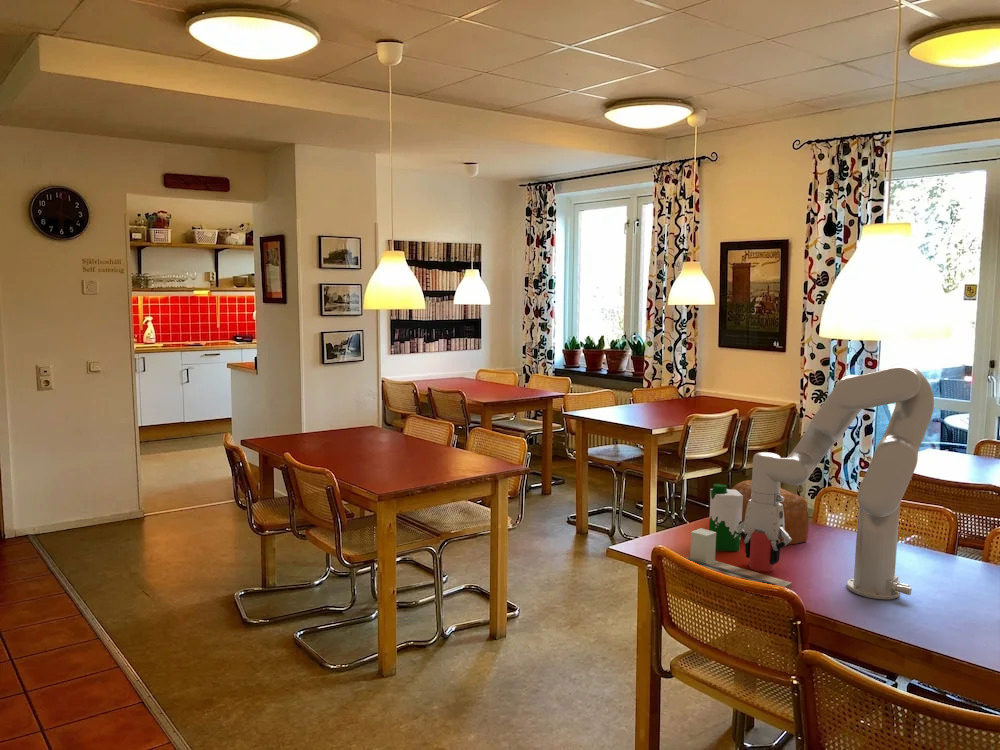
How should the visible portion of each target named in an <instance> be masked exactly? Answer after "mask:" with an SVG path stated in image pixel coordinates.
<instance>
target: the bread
mask: <svg viewBox="0 0 1000 750" xmlns="http://www.w3.org/2000/svg"><path fill="white" fill-rule="evenodd" d="M751 488H752V479H747V480H743V481H740V482H738V483H736V484H735V485H734V486H733V487H732V488H731V489H733V490H737V491H738V492H739V493H740V494H742V495H743V504H742V522H744V521H745V514H746V509H747V505H748V501H749V500H750V499H751V490H752V489H751ZM780 493H781V496H782V497H784V502H779V503H781V504H782V505H783V510H784V523H785V531H786V532H787V534H788V535H789V536H790V537H791V539H792V540H791V541H790V542H789V543H788V544H787V545H794V544H795V545H796V544H802V543H804V542H807V541H808V538H809V511H808V504H809V503H808V501H807V500H806V499H805V498H803V497H802V496H800V495H798V494H796V493H792V492H791V491H789V490H786V489H784V488H782V487H780ZM779 540H780V543H781V542H782V541H783V540H784V538H779Z"/></svg>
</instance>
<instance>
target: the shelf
mask: <svg viewBox="0 0 1000 750" xmlns="http://www.w3.org/2000/svg"><path fill="white" fill-rule="evenodd" d="M683 557H684V558H686V559H688V560H690V561H693V562H695V563H697V564H699V565H702V566H704V567H706V568H709V569H712V570H714V571H717V572H721V573H723V574H726V575H729V576H734V577H738V578H743V579H746V580H751V581H757V582H762V583H767V584H772V585H779V586H783V587H786V588H787V589H789V588H790V587H792V584H793V583H792V581H787V580H784V579H781V578H777V577H774V576H771V575H767V574H764V573H761V572H760V573H759V572H758V571H753V570H749V569H746V568H742V567H738V566H736V565H733V564H728V563H726V562H721V561H718V560H715V563H714V564H712V565H711V564H707V563H704V562H700V561H697V560H694V559H690V557H686V556H683Z"/></svg>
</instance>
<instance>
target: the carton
mask: <svg viewBox="0 0 1000 750" xmlns="http://www.w3.org/2000/svg"><path fill="white" fill-rule="evenodd" d="M715 550H716V532H714V531H710V530H709V529H705V528H703V527H702V528H701V527H700V528H697V529H695V530H692V531H691V532H690V552H689V558H690V559H694V560H697V561H700V562H704V563H707V564H711V565H712V564H714V563H715V561H716V551H715Z"/></svg>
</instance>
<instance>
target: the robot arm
mask: <svg viewBox="0 0 1000 750" xmlns="http://www.w3.org/2000/svg"><path fill="white" fill-rule="evenodd" d="M934 398H935V397H934V392H933V389H932V386H931V384H930V383H929V380H928V379H927V378H926V376H925V375H924V374H923V373H922V372H921V371H920V370H919V369H918V368H917V367H915V366H914V365H911V364H909V363H905V362H904V363H902V362H901V363H896V364H894V365H892V366H890V367H889V368H887V369H883V370H878V371H874V372H869V373H863V374H860V375H859V374H858V375H857V374H847V375H845V376H843V377H841V379H839V380H838V381H837V382H836V384H835V385H834V387H833V389H832V390H831V392H830V393H829V395H828V396H827V398H826V399H825V400H824V402H823V403H822V404H821V406H820V407H819V409H818V410H817V411H816V413H815V414H814V415H813V417H812V418H811V420H810V421H809V425H808V427H807V429H806V431H805V433H804V434H803V436H801V439H800V440H799V442H798V443H797V444H796V445H795V447H794V448H793V450H791V453H790V454H789V455H788V456H787V457H781V455H779V454H778V453H776V452H775V453H774V452H767V451H763V452H762V451H761V452H756V453H755V454H753V458H752V472H751V474H752V475H751V480H752V488H751V489H752V490H751V499H750V500H749V501H748V505H747V509H746V514H745V521H744V522H742V523H741V524H739V525H738V526H736V529H737V530H738V532H739V533H740V535H741V539H742V540H743V543H744V544H745V547H744V548H745V549H744V551H745V558H747V559H748V558H749V559H750V541H751V535H752V533H753V532H754V531H755V530H758V531H763V532H765V534H766V536H767V538H768V539H769V540H771V544H772V547H773V550H772V551H771V564H772V565H774V566H775V564H778V562H779V561H780V555H781V554H780V553H781V549H783V548H784V547H786V546H787V545H789V544H788V543H789V542H790V541H791V540H792V539H791V537H790V536H789V535H788V534H787V532H786V531H785V523H784V510H783V505H782V504H781V503H779V502H784V497H782V496H781V493H780V488H781V483H782V484H784V485H785V484H786V485H789V486H795V487H797V486H801V485H804V484H805V483H806V482H807V481H808V480H809V479H810V477H811V475H812V473H814V471H815V469H816V468H817V467H818V465H819V464H820V463H821V462H822V459H824V457H825V456H826V454H827V453H828V452H829V451H830V449H831V448H832V447H833V446H834V444H836V443H837V442H838V441H839V440H840V439H841V438H842V437H843V436H844V435H845V433H846V431H847V429H848V428H849V427H850V426H851V424H852V423H853V421H855V419H856V418H857V416H858V415H859V414H860V412H861V411H862V410H864V409H870V408H876V407H880V406H886V405H890V404H895V407H894V409H893V412H892V414H891V416H890V420H889V422H888V424H887V427H886V429H885V431H884V434H883V436H882V438H881V439H880V441H879V442H878V444H877V446H876V448H875V450H874V453H873V456H872V457H871V460H870V464H869V466H868V467H867V470H866V473H865V475H864V477H863V478H862V480H861V482H860V483H859V486H858V490H857V502H858V511H857V512H858V514H857V527H856V541H855V557H854V570H853V578H850V579H848V580H847V581H846V588H847V590H849V591H851V592H852V593H854V594H857V595H858V596H862V597H865V598H870V599H875V600H895V599H897V598H899V597H900V596H901V594H903V595H907V596H911V594H912V592H913V591H912V587H911V586H910V585H909V584H906V583H901V582H900V581H899V576H897V575H896V565H897V564H896V561H897V560H896V559H897V549H898V536H899V523H900V512H901V502H902V499H903V498H904V495H905V493H906V491H907V489H908V486H909V484H910V481H911V479H912V477H913V475H914V472H915V470H916V468H917V464H918V460H919V459H918V458H919V451H920V448H921V445H922V443H923V439H924V438H925V435H926V433H927V430H928V427H929V425H930V422H931V419H932V416H933V412H934V406H935V399H934ZM779 538H784V540H783V541H782V542H781V543H780V540H779Z"/></svg>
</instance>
